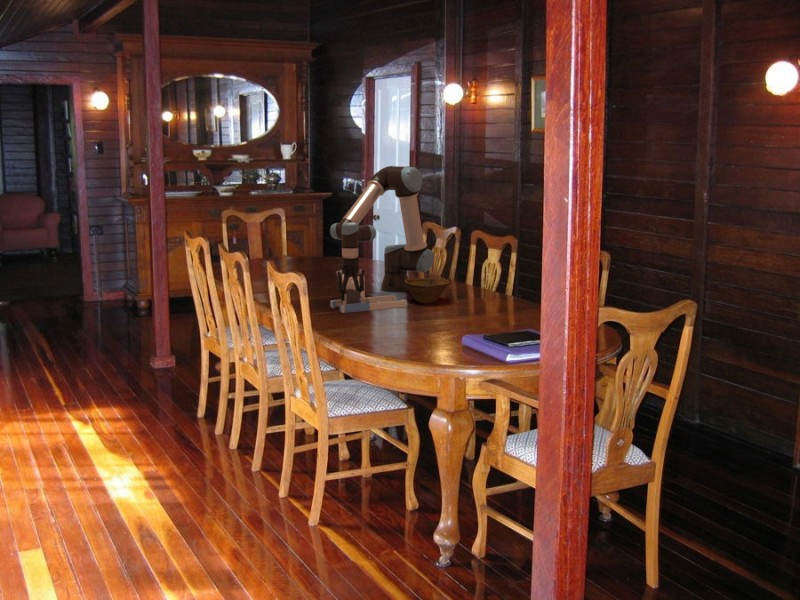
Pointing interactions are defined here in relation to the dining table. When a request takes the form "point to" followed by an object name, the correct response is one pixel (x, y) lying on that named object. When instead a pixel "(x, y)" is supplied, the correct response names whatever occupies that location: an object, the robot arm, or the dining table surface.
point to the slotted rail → (370, 304)
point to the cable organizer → (351, 285)
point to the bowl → (426, 288)
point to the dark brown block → (352, 296)
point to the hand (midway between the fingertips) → (350, 306)
